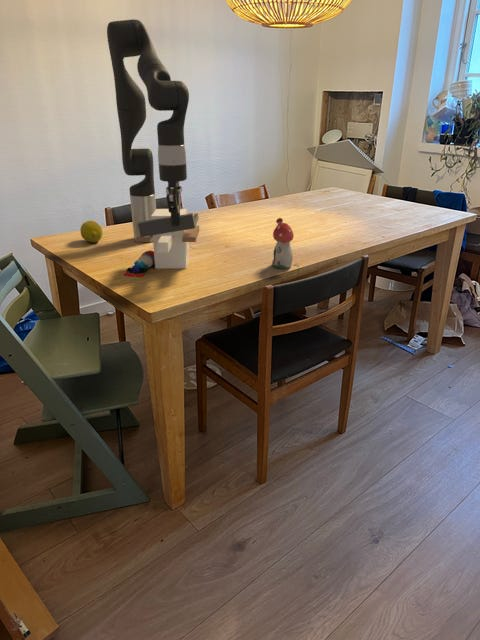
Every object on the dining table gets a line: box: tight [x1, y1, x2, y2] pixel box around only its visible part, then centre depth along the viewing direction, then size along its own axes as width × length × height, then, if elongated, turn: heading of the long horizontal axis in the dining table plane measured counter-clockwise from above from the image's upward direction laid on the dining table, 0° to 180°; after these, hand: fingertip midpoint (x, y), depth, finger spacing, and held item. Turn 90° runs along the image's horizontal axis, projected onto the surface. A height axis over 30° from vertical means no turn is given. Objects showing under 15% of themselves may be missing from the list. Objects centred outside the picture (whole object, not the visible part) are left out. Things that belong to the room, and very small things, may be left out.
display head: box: [135, 208, 200, 269], centre depth 149 cm, size 22×18×17 cm
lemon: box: [80, 220, 103, 244], centre depth 180 cm, size 11×8×8 cm
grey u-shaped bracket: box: [138, 212, 199, 237], centre depth 143 cm, size 13×16×4 cm
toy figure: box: [123, 250, 155, 278], centre depth 153 cm, size 8×5×15 cm
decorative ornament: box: [271, 217, 294, 270], centre depth 153 cm, size 9×7×15 cm
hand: (176, 224), depth 138 cm, fingers closed on grey u-shaped bracket, 2 cm apart
